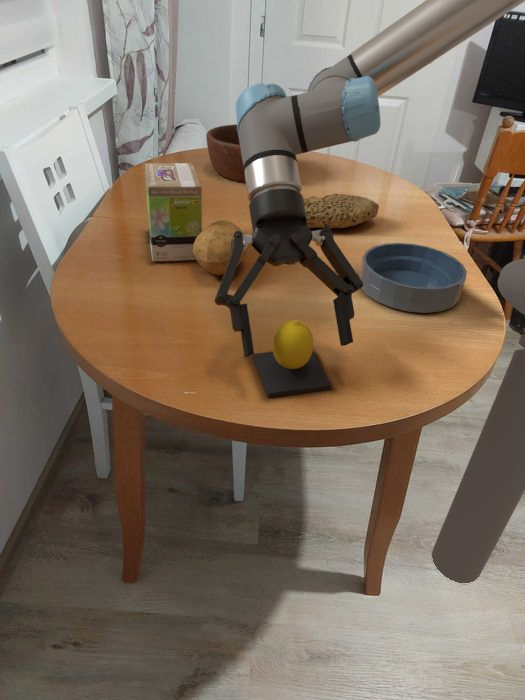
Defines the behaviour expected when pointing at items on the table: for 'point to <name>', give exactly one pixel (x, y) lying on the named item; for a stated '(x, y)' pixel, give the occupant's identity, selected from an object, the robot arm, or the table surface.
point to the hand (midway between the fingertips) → (299, 349)
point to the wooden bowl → (226, 152)
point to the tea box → (173, 210)
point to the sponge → (339, 210)
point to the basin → (412, 277)
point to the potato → (215, 246)
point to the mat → (290, 376)
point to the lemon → (293, 344)
